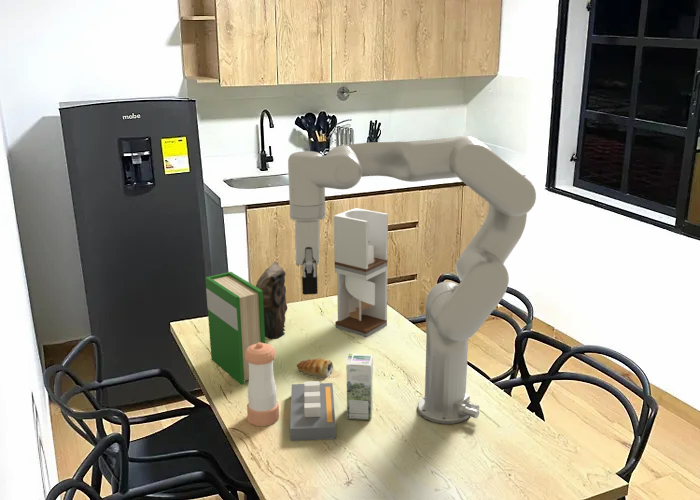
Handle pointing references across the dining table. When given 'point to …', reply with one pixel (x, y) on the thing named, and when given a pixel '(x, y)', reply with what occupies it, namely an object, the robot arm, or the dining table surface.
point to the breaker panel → (312, 425)
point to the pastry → (315, 367)
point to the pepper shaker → (261, 385)
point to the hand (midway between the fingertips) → (309, 285)
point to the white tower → (361, 270)
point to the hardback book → (234, 322)
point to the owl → (273, 300)
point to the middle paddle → (312, 397)
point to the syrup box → (359, 386)
